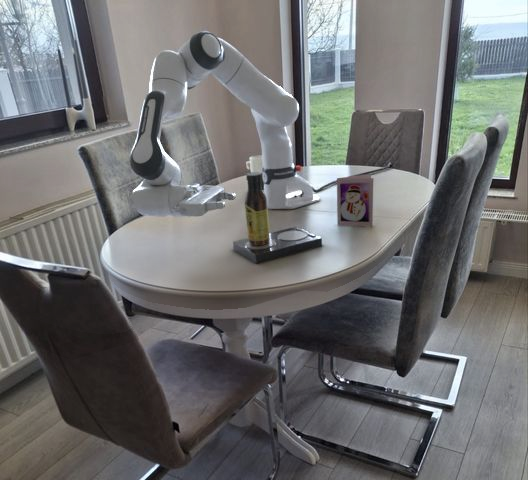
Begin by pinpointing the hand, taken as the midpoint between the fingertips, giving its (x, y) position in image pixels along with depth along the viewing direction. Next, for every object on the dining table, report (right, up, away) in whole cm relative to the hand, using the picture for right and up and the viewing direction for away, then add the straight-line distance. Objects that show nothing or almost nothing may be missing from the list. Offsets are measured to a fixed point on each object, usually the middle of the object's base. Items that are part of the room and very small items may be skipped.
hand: (229, 200), depth 144 cm
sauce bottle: (+9, -12, +4) cm, 15 cm away
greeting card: (+40, -1, +22) cm, 46 cm away
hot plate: (+14, -12, +7) cm, 20 cm away
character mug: (+8, +29, +79) cm, 85 cm away
